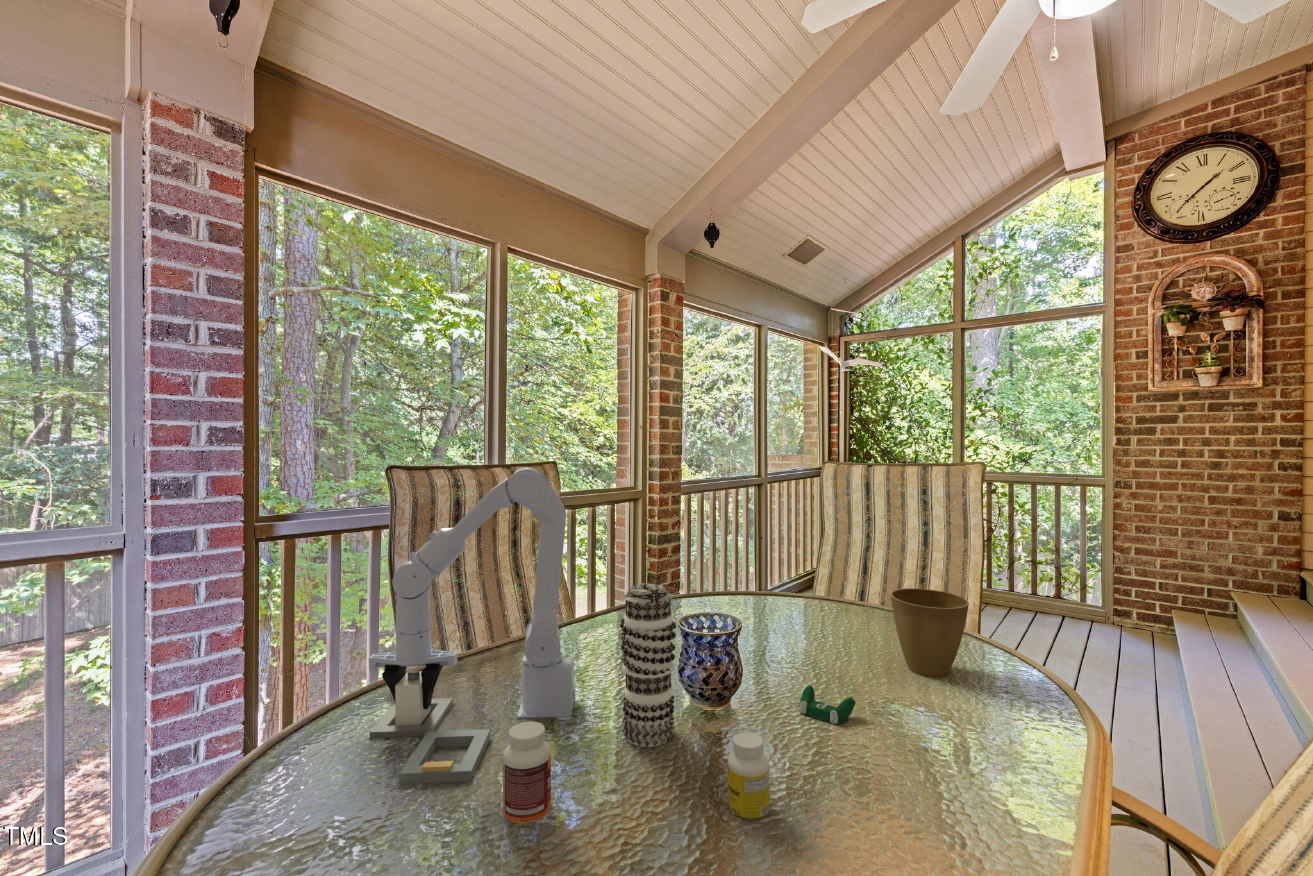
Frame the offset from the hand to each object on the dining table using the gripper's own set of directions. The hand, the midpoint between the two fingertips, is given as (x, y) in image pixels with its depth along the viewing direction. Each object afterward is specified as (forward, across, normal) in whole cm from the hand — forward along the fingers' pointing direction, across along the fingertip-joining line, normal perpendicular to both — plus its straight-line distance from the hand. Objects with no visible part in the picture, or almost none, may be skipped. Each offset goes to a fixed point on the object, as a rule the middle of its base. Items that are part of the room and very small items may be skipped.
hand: (413, 707), depth 102 cm
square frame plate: (+2, 0, 0) cm, 2 cm away
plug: (+2, 0, 0) cm, 2 cm away
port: (+2, -10, +14) cm, 17 cm away
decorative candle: (+3, -41, +9) cm, 42 cm away
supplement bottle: (+3, -53, +29) cm, 60 cm away
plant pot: (+3, -101, -14) cm, 102 cm away
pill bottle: (+3, -24, +27) cm, 36 cm away
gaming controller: (+1, -74, +1) cm, 74 cm away
